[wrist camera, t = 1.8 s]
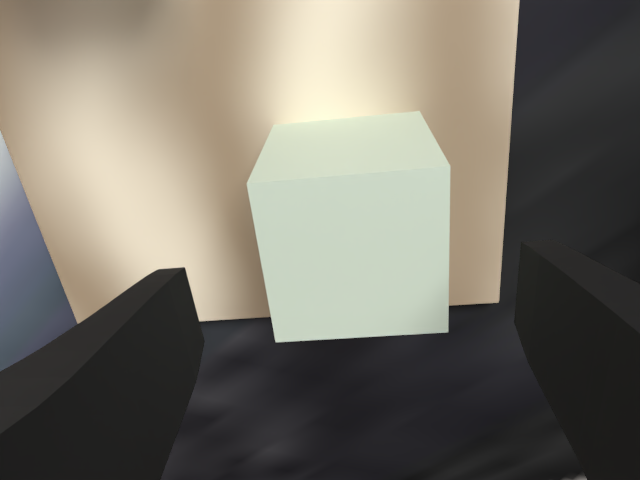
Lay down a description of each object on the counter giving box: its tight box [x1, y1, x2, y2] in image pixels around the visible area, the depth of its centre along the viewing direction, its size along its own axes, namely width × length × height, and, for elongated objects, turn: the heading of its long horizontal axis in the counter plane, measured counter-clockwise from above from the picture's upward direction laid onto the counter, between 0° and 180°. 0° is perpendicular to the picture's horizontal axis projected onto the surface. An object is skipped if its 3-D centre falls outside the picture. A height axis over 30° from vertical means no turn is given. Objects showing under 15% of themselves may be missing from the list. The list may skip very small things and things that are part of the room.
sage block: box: [247, 111, 450, 342], centre depth 14 cm, size 4×4×5 cm
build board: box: [0, 0, 519, 324], centre depth 15 cm, size 16×20×1 cm
